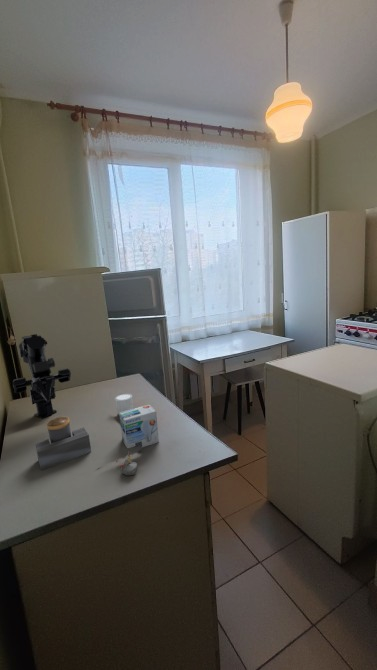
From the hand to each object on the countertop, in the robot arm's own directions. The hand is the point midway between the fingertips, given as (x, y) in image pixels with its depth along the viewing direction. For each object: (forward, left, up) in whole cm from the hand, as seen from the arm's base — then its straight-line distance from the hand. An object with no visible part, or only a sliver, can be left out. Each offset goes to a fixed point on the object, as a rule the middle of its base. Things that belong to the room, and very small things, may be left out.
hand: (48, 400), depth 104 cm
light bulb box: (+33, +9, -13) cm, 37 cm away
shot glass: (+13, +23, -13) cm, 29 cm away
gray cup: (+16, -7, -11) cm, 21 cm away
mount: (+14, -7, -12) cm, 20 cm away
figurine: (+40, -4, -13) cm, 43 cm away
